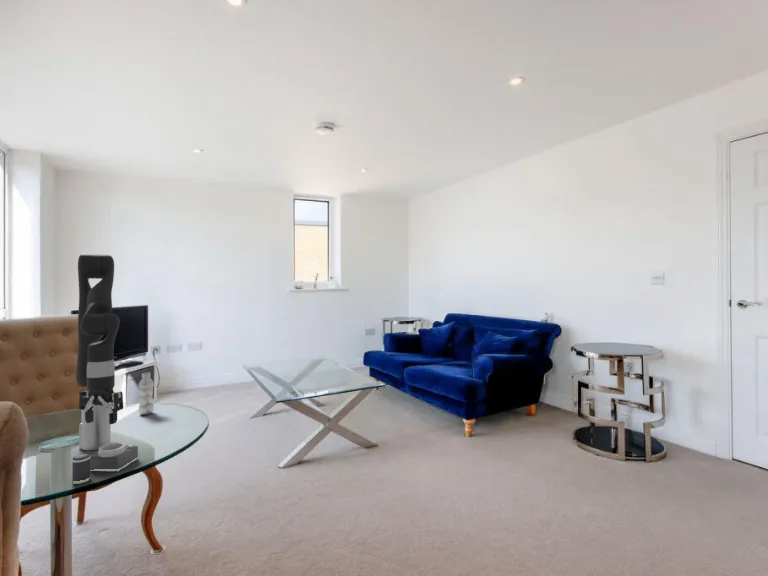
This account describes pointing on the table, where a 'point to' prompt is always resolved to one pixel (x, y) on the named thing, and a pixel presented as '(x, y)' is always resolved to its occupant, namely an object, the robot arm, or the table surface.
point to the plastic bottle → (146, 394)
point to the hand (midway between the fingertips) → (101, 422)
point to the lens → (81, 467)
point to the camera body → (113, 456)
